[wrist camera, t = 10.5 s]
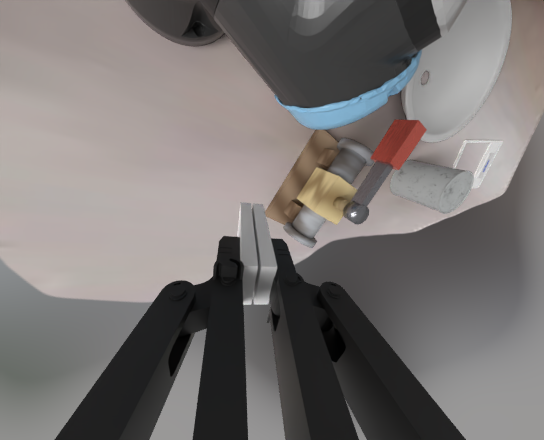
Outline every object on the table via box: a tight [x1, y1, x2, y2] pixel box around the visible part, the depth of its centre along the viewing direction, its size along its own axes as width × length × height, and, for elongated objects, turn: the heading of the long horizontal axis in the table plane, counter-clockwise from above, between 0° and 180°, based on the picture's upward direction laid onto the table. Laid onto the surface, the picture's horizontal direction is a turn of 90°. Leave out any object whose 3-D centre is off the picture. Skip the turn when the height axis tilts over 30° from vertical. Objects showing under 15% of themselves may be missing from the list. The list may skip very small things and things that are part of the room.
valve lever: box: [343, 120, 427, 224], centre depth 30 cm, size 3×16×4 cm, turn 150°
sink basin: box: [401, 0, 512, 143], centre depth 39 cm, size 24×24×7 cm
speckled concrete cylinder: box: [390, 160, 474, 214], centre depth 47 cm, size 10×10×12 cm
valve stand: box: [265, 130, 374, 248], centre depth 38 cm, size 20×11×13 cm, turn 147°
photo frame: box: [452, 140, 503, 189], centre depth 60 cm, size 15×1×18 cm
